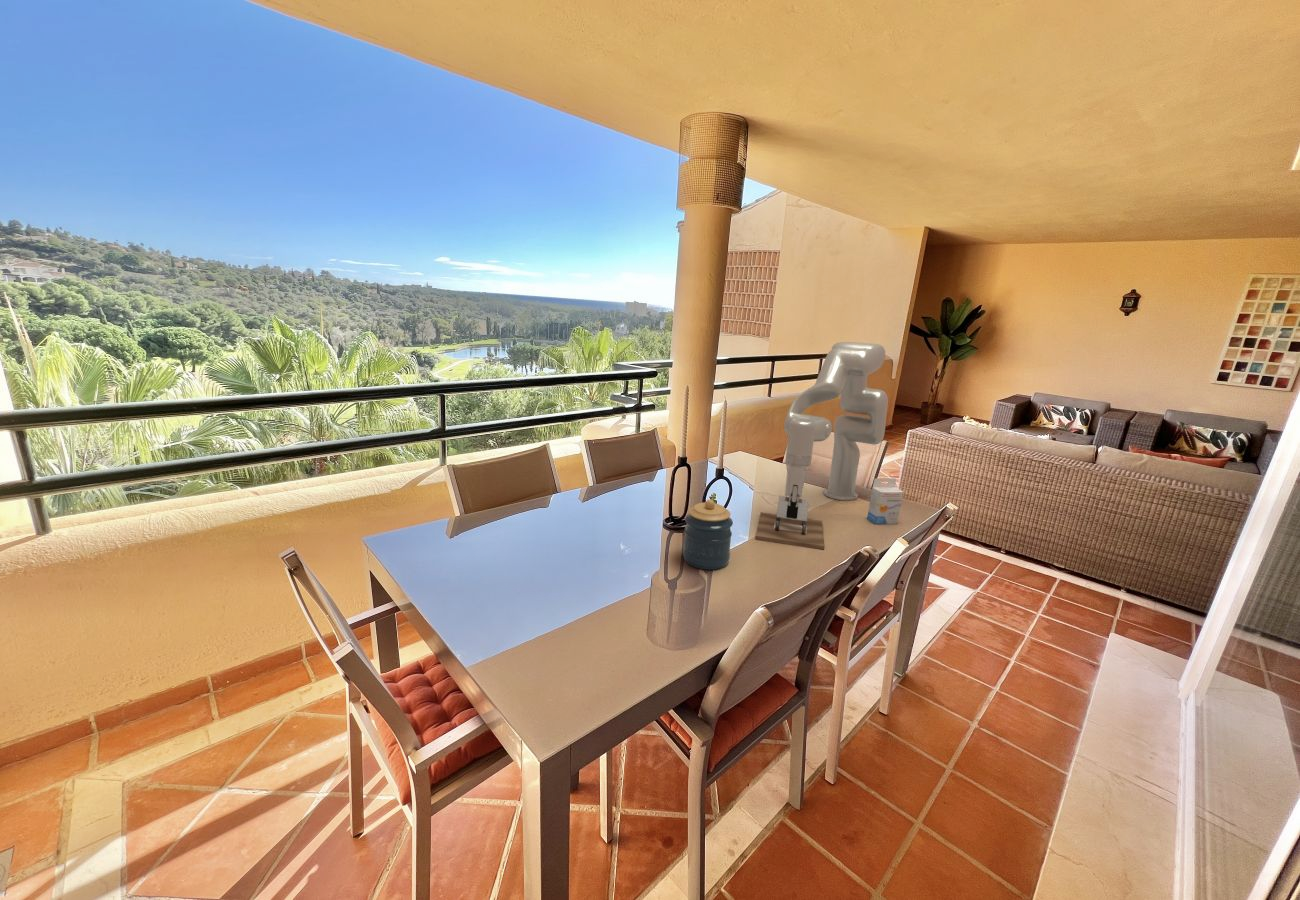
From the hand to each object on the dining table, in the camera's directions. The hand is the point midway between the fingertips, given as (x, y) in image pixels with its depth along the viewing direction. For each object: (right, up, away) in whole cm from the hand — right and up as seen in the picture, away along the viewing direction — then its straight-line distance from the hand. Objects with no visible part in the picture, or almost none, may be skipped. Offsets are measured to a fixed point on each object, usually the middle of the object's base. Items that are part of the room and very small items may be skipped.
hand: (791, 514), depth 158 cm
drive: (0, -1, 0) cm, 1 cm away
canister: (-29, -10, -18) cm, 36 cm away
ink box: (+34, -4, +12) cm, 37 cm away
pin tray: (0, -6, +2) cm, 6 cm away
